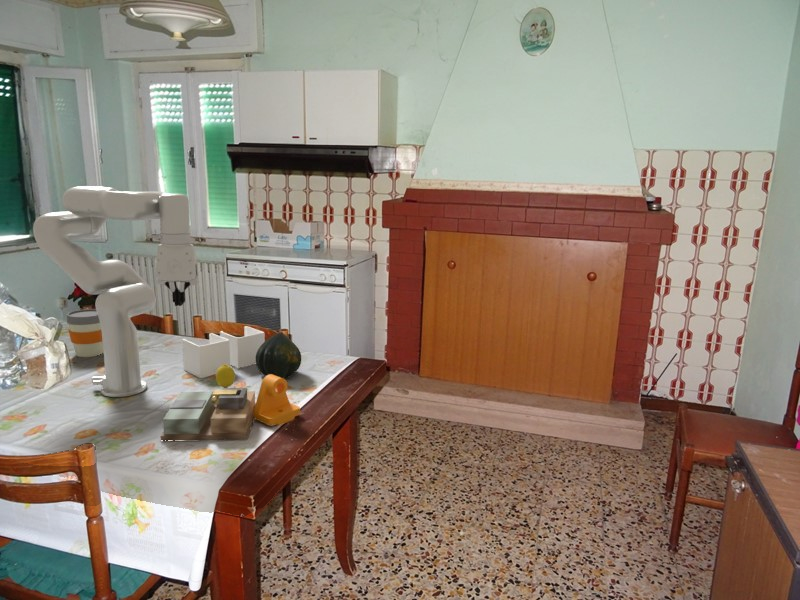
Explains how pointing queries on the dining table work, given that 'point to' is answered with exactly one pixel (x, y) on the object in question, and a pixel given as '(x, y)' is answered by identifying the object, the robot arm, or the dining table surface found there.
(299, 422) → the dining table surface
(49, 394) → the dining table surface
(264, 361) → the squash
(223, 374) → the lemon
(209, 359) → the storage container
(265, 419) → the bracket
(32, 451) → the dining table surface
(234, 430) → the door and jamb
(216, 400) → the brass bolt
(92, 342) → the reusable coffee cup
